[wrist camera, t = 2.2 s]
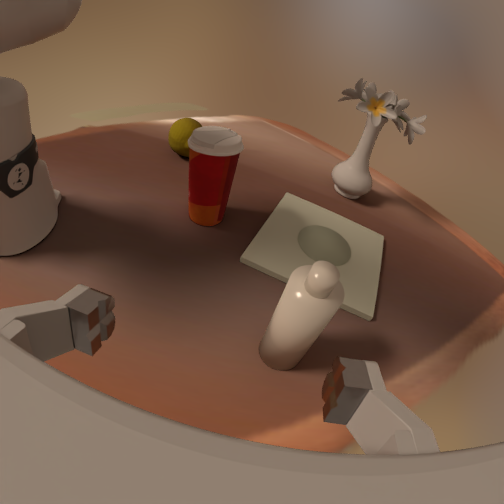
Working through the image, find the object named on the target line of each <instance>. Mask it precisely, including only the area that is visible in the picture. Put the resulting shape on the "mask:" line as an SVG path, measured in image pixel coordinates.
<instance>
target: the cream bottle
mask: <svg viewBox="0 0 504 504" xmlns="http://www.w3.org/2000/svg"><path fill="white" fill-rule="evenodd" d="M339 278H340V273H339V270H338V269H337V268H336V266H334V265H333V264H332V263H330V262H327V261H317V262H315V263H314V264H313V265H304V266H301V267H298V268H297V269H295V270H294V271H293V272H292V274H291V276H290V278H289V280H288V282H287V285H286V287H285V289H284V292H283V294H282V296H281V298H280V300H279V303H278V305H277V307H276V309H275V312H274V314H273V316H272V318H271V320H270V323H269V325H268V327H267V329H266V331H265V333H264V336H263V338H262V340H261V342H260V345H259V354H260V357H261V359H262V360H263V362H264V363H265V364H266V365H267V366H269V367H270V368H272V369H275V370H280V371H285V370H289V369H292V368H293V367H295V366H296V365H297V364H298V362H299V361H300V360H301V359H302V357H303V356H304V355H305V353H306V352H307V351H308V350H309V348H310V347H311V346H312V344H313V343H314V342H315V340H316V339H317V338H318V336H319V335H320V334H321V332H322V331H323V330H324V328H325V327H326V326H327V324H328V323H329V321H330V320H331V319H332V317H333V316H334V314H335V313H336V312H337V310H338V309H339V307H340V306H341V305H342V303H343V301H344V297H345V293H344V288H343V286H342V284H341V282H340V281H339Z"/></svg>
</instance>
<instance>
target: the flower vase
mask: <svg viewBox="0 0 504 504" xmlns="http://www.w3.org/2000/svg"><path fill="white" fill-rule="evenodd" d="M362 82H363V79H362V78H361V79H360V80H359V81H358V82H357V83H356V85H355V90H354V89H346V90H344V91H343V92H342V94H343V95H347V96H346V97H343V98H341V99H340V100H338V101H343V100H350V99H361V100H362V101H361V102H359V103H358V104H357V106H356V108H357V110H360V111H362V112H367V121H366V126H365V129H364V132H363V135H362V137H361V139H360V141H359V144H358V146H357V148H356V150H355V152H354V153H353V155H352V156H351V157H350V158H349V159H347V160H346V161H343V162H340V163H338V164H337V165H336V166H335V167H334V168H333V170H332V173H331V176H332V179H333V182H334V183H335V184H334V188H335V190H336V191H337V192H338V193H339V194H340V195H342V196H344V197H346V198H349V199H357V198H359V197H360V196H362V195H365V194H367V193H368V192H369V191H370V190H371V188H372V177H371V175H370V172H369V159H370V155H371V152H372V149H373V146H374V144H375V141H376V139H377V136H378V134H379V132H380V130H381V129H382V127H383V126H384V124H385V123H386V122H387V121H388V118H389V119H392V121H393V122H394V123H395V125H396V126H397V128H398V130H399V131H400V128H401V129H402V130H403V124H402V121H401V120H400V118H401V119H402V120H404V121H405V122H406V123H407V126H406V130H405V132H404V136H407V135H408V142H409V144H411V143H412V142H413V140H414V132H415V133H417V134H424V133H425V131H426V130H425V128H424V127H423V126H421V125H420V124H418V123H422V122H423V121H424V120H425V119H426V117H427V115H424V116H422V117H419V118H416V117H414V118H413V119H412V120H410V117H409V116H408V114H407V113H405V112H404V111H402V110H403V109H405V108H407V107H408V106H409V100H407V99H401V100H399V101H398V99H397V95H396V96H395V94H394V92H393V91H392V90H389V92H386V93H384V94H376V85H375V83H373V82H371V83H370V84H369V85H368V87H366V89H363V88H364V86H365V84H366V82H367V81H365V82H364V83H363V84H362ZM363 90H364V91H365V92H366V93H365V92H364V91H363ZM348 96H349V97H348ZM413 131H414V132H413ZM400 132H401V131H400Z"/></svg>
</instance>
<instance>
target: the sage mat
mask: <svg viewBox="0 0 504 504" xmlns="http://www.w3.org/2000/svg"><path fill="white" fill-rule="evenodd" d="M383 241H384V236H382V235H380V234H378V233H376V232H374V231H372V230H370V229H368V228H366V227H364V226H361V225H359V224H357V223H355V222H353V221H351V220H349V219H346V218H344V217H342V216H340V215H338V214H336V213H333V212H331V211H329V210H327V209H324V208H322V207H320V206H318V205H315V204H313V203H311V202H308V201H306V200H304V199H301V198H299V197H297V196H294V195H292V194H290V193H286V194H285V196H284V197H283V198H282V200H281V201H280V203H279V204H278V205H277V207H276V208H275V210H274V211H273V212H272V214H271V215H270V217H269V218H268V219H267V221H266V222H265V223H264V225H263V226H262V228H261V229H260V230H259V232H258V233H257V235H256V236H255V237H254V239H253V240H252V242H251V243H250V244H249V246H248V247H247V249H246V250H245V251H244V253H243V254H242V256H241V258H240V262H241V263H244V264H246V265H248V266H250V267H252V268H254V269H256V270H259V271H261V272H263V273H265V274H267V275H269V276H272V277H274V278H276V279H278V280H280V281H282V282H284V283H287V282H288V280H289V278H290V276H291V274H292V272H293V271H294V270H295V269H297V268H298V267H301V266H304V265H313V264H314V263H315V262H317V261H327V262H330V263H332V264H333V265H334V266H336V268H337V269H338V270H339V273H340V278H339V281H340V282H341V284H342V286H343V288H344V293H345V297H344V301H343V303H342V305H341V306H340V307H339V308H341V309H344V310H346V311H348V312H350V313H352V314H355V315H357V316H359V317H361V318H363V319H366V320H368V321H370V320H371V319H372V318H373V315H374V309H375V303H376V296H377V290H378V283H379V276H380V268H381V260H382V251H383Z"/></svg>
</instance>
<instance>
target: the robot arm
mask: <svg viewBox="0 0 504 504" xmlns="http://www.w3.org/2000/svg"><path fill="white" fill-rule="evenodd" d="M81 2H82V0H0V53H3V52H6V51H9V50H12V49H15V48H19V47H22V46H26V45H29V44H33V43H35V42H38V41H40V40H43V39H45V38H47V37H50V36H52V35H55V34H57V33H59V32H62V31H64V30H65V29H66V28H67V27H68V26H69V25H70V23H71V22H72V21H73V19H74V18H75V16H76V14H77V13H78V11H79V8H80V6H81ZM37 150H38V147H37V142H36V140H35V136H34V135H33V134H32V132H31V124H30V115H29V106H28V94H27V91H26V89H25V87H24V86H23V85H22V84H21V83H20V82H18V81H16V80H14V79H11V78H6V77H0V256H8V255H14V254H18V253H21V252H24V251H26V250H28V249H30V248H32V247H33V246H35V245H36V244H38V243H39V242H40V241H41V240H43V239H44V238H45V237H46V236H47V235H48V234H49V232H50V231H51V230H52V228H53V227H54V225H55V223H56V220H57V217H58V209H57V207H58V204H59V202H60V200H61V194H60V192H59V191H57V190H54V189H53V186H52V182H51V179H50V175H49V172H48V168H47V165H46V162H45V161H43V160H41V159H38V151H37ZM114 307H115V302H114V298H113V297H112V296H110V295H108V294H105V293H103V292H100V291H98V290H95V289H93V288H90V287H87V286H85V285H82V284H78V285H77V286H75V287H74V288H73V289H71V290H70V291H68V292H67V293H66V294H64V295H63V296H61V297H60V298H59V299H57V300H56V301H53V300H49V301H43V302H38V303H32V304H26V305H21V306H15V307H9V308H3V309H1V310H0V504H504V442H500V443H497V444H492V445H487V446H481V447H476V448H469V449H462V450H455V451H446V452H440V450H439V448H438V445H437V442H436V439H435V436H434V433H433V431H432V429H431V428H430V427H429V426H428V425H427V424H426V423H424V422H423V421H422V420H421V419H420V418H419V417H418V416H416V414H414V413H413V412H412V411H411V410H410V409H409V408H408V407H407V406H405V405H404V404H403V403H402V402H401V401H400V400H399V399H398V398H397V397H395V396H394V395H393V394H392V393H391V392H387V391H386V387H385V384H384V381H383V378H382V375H381V372H380V369H379V366H378V363H377V362H375V361H367V360H357V359H350V358H344V357H338V356H337V357H336V358H335V359H334V361H333V363H332V372H330V373H328V374H327V376H326V378H325V380H324V384H323V387H322V399H323V400H324V402H325V404H324V406H323V420H324V422H329V423H336V424H343V425H346V427H347V428H348V430H349V431H350V433H351V434H352V435H353V437H354V438H355V440H356V441H357V443H358V444H359V445H360V447H361V448H362V450H363V451H364V452H365V454H366V455H359V454H342V453H328V452H318V451H309V450H301V449H293V448H287V447H280V446H274V445H269V444H263V443H258V442H253V441H248V440H244V439H239V438H235V437H231V436H226V435H222V434H219V433H215V432H211V431H207V430H204V429H200V428H197V427H193V426H190V425H187V424H183V423H180V422H177V421H174V420H171V419H168V418H165V417H162V416H159V415H157V414H154V413H151V412H148V411H146V410H143V409H141V408H138V407H135V406H133V405H130V404H128V403H126V402H123V401H121V400H118V399H116V398H114V397H112V396H109V395H107V394H105V393H103V392H100V391H98V390H96V389H94V388H92V387H90V386H88V385H86V384H84V383H82V382H80V381H78V380H76V379H74V378H72V377H70V376H68V375H66V374H65V373H63V372H61V371H59V370H57V369H55V368H54V367H52V366H50V365H48V364H47V363H45V362H44V361H46V360H49V359H51V358H54V357H56V356H59V355H61V354H64V353H66V352H69V351H71V350H74V348H75V349H77V350H79V351H82V352H84V353H86V354H89V355H91V356H93V355H94V354H95V353H96V352H97V351H98V350H99V348H100V347H101V346H102V345H101V341H104V340H107V339H108V338H109V337H110V336H111V335H112V332H113V330H114V327H115V316H114V314H113V312H112V309H113V308H114Z"/></svg>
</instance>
